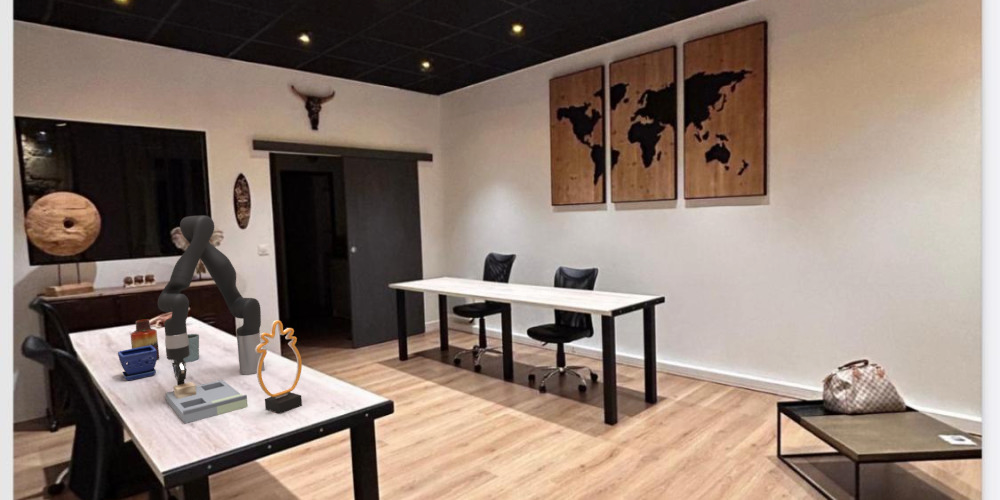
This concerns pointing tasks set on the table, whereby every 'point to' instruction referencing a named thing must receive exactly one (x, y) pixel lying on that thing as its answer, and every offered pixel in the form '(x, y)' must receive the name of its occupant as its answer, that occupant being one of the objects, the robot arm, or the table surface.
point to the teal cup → (193, 348)
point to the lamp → (285, 398)
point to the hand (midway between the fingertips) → (181, 389)
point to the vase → (144, 336)
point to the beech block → (185, 390)
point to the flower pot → (138, 368)
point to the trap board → (207, 401)
